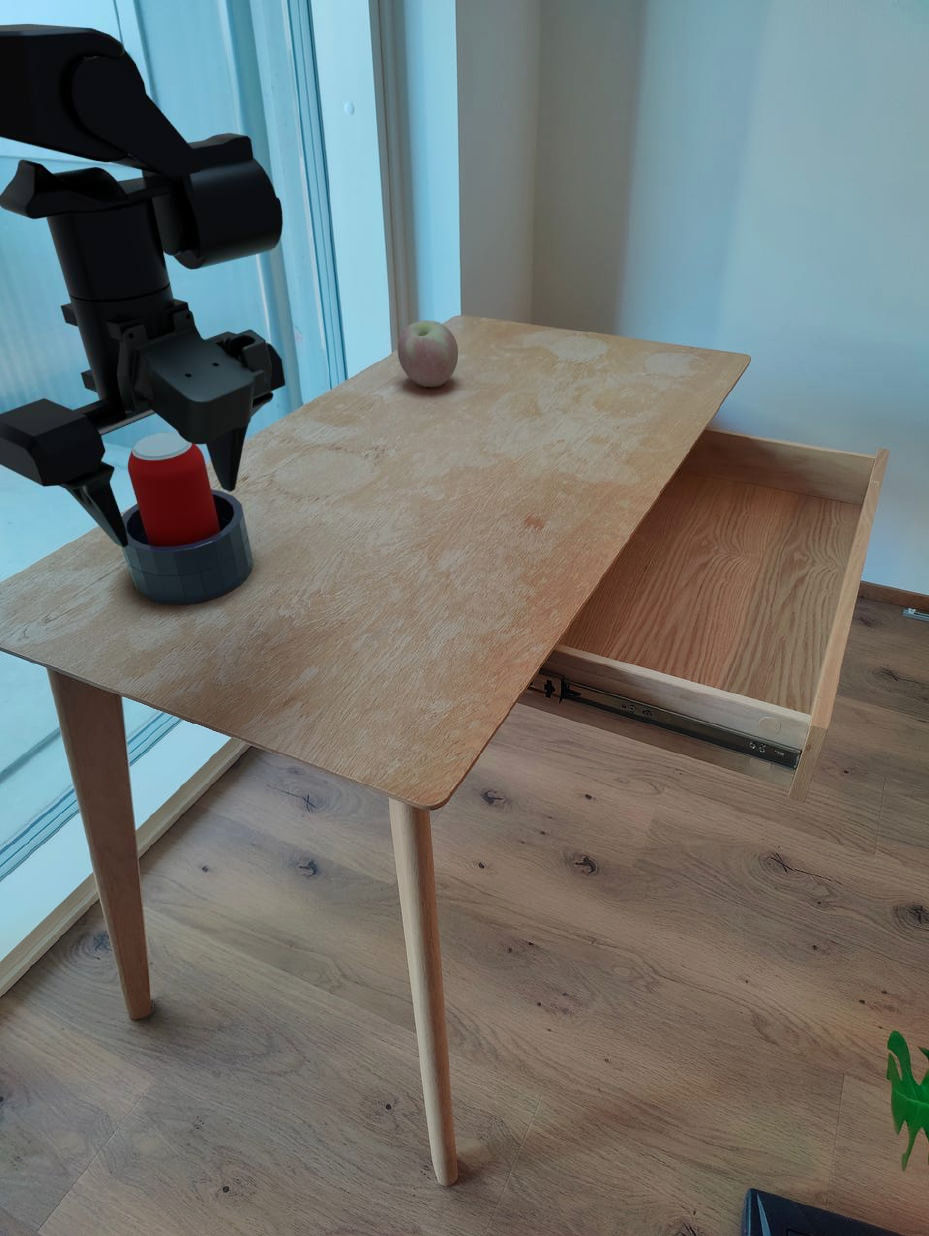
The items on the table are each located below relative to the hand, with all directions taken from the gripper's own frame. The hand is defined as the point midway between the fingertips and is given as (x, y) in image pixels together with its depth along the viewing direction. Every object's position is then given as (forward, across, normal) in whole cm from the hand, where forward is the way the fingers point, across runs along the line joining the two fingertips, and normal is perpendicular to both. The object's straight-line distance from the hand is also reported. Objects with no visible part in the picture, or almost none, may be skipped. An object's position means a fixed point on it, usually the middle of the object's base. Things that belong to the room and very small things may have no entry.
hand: (177, 515), depth 59 cm
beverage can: (+13, +7, +11) cm, 18 cm away
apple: (+13, +53, +20) cm, 58 cm away
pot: (+13, +7, +11) cm, 18 cm away
